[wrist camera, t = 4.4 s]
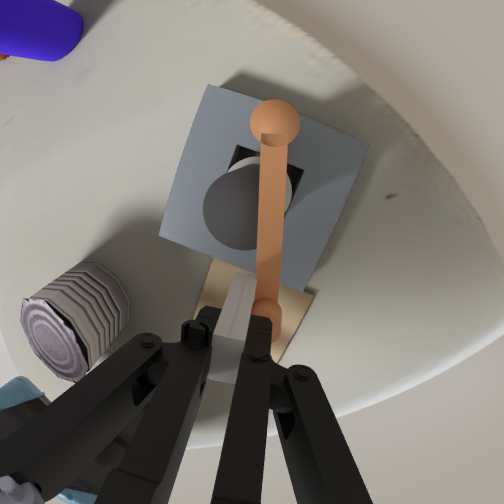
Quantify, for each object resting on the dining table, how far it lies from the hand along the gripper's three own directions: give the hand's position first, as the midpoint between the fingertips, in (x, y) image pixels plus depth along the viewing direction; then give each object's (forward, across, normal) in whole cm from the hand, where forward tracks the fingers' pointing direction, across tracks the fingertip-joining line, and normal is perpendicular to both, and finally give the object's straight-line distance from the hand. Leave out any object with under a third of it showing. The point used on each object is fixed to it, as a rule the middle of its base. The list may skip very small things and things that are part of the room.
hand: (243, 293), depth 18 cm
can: (+15, -21, -14) cm, 29 cm away
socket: (+14, -1, +5) cm, 15 cm away
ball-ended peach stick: (+1, +1, +5) cm, 5 cm away
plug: (+14, -1, +5) cm, 15 cm away
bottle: (+15, -31, +23) cm, 41 cm away
